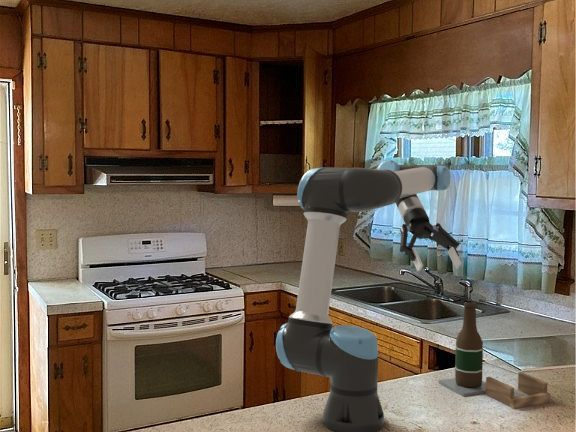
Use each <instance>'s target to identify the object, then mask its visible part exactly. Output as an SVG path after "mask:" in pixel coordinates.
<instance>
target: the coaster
mask: <svg viewBox="0 0 576 432" xmlns="http://www.w3.org/2000/svg"><path fill="white" fill-rule="evenodd" d="M438 384H440V385H442V386H444V387H445V388H447V389H449V390H451V391H453V392H454V393H456V394H458V395H460V396H462V397H468V396H475V395H482V394H486V381H485V380H482V385H481V386H480V387H477V388H465V387H461V386H458V385H457V383H456V381H455V377H452V378H446V379H439V380H438Z"/></svg>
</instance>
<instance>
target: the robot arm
mask: <svg viewBox="0 0 576 432" xmlns="http://www.w3.org/2000/svg"><path fill="white" fill-rule="evenodd" d="M450 184H451V172H450V169H449V168H448V166H446V165H399V164H398V162H396V161H395V160H392V159H388V160H384V161H381V163H380V164H378V166H377V168H376V169H375V168H374V169H373V168H366V167H329V166H328V167H325V166H324V167H318V168H317V167H315V168H312V169H311V168H310V169H309V170H308V171H307V172H305V173H304V174H303V176H301V179H300V180H299V184H298V187H297V193H296V194H297V195H296V196H297V199H298V201H297V202H298V205H299V207H300V208H301V209H302V210H303V215H304V218H305V219H306V220H307V227H306V235H305V242H304V249H303V256H302V261H301V262H302V263H301V269H300V278H299V283H298V284H299V285H298V292H297V298H296V306H295V310H294V312H293V313H291V314H290V315H289V316H288V322H286V323H284V324H282V325H281V326H280V328H279V330H278V332H277V335H276V339H275V348H276V349H275V350H276V355H277V357H278V360H279V361H280V364H281V365H283V366H284V367H285V368H288V369H290V370H294V371H296V372H300V373H302V372H303V373H307V374H312V375H318V376H321V377H327V378H329V380H330V381H329V383H330V385H329V386H330V390H329V394H328V397H327V399H326V404H325V406H324V410H323V412H322V413H323V414H322V422H323V425H324V426H325V427H326V428H328V429H329V430H331V431H333V432H378V431H380V430H382V429H383V428H384V426H385V413H384V411H383V406H382V404H381V400H380V396H379V394H378V381H379V380H378V373H379V372H378V371H379V367H378V366H379V353H380V352H379V345H378V338H377V337H376V335H375V334H374V333H373V332H372V330H371V331H370V330H369V329H366V328H364V327H361V326H356V325H347V324H339V325H335V326H333V325H334V324H333V321H332V319H331V318H330V316H329V313H330V311H329V310H330V304H331V296H332V288H333V281H334V274H335V265H336V258H337V252H338V251H337V250H338V244H339V243H338V242H339V237H340V236H339V235H340V228H341V225H342V224H344V223H345V222H346V221H347V218H348V217H347V216H348V213H363V212H368V211H373V210H377V209H380V208H384V207H388V206H391V205H393V204H395V205H396V207H397V209H398V211H399V214H400V215H401V217H402V220H403V222H404V223H403V224H402V225H401V227H400V228H399V232H400V244H399V245H400V246H399V252H401V253H404V255H405V256H408V258H409V260H410V261H411V262H412V263H413V265H414V267H415V269H416V271H417V272H420V271H421V270H422V269H423V267H424V264H423V262H422V260H421V258H420V255H419V253H418V252H417V249H416V248H414V246H415V243H416V241H417V239H419V240H422V239H425V240H427V239H428V240H430V241H434V242H435V243H437V244H438V245H440V246H441V247H442V248H444V249H446V250H447V254H448V256H449V258H450V260H451V262H452V264H453V267H455V270H457V269H459V268H460V266H461V265H462V264H463V263H462V261H461V259H460V257H459V256H460V254H459V252H458V251H457V248H458V247H459V245H460V242H459V241H458V240H456V239H455V238H454V237H453V236H452V235H451V234H449V232H447V231H446V230H445V228H443V226H442V225H441V223H439V222H437V223H436V224H434V225H433V224H431V222H430V217H429V215H428V214H427V211H426V210H425V207H424V205H423V203H422V202H421V200H420V198H419V196H418V194H422V193H425V192H430V191H438V192H439V191H445V190H448V189H449V187H450ZM408 232H409V233H410V234H412V236H411V239H410V241H409V243H408V234H409V233H408ZM407 243H408V245H407Z"/></svg>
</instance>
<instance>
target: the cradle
mask: <svg viewBox="0 0 576 432" xmlns="http://www.w3.org/2000/svg"><path fill="white" fill-rule="evenodd" d="M517 375H518V377H517V379H518V380H517V382H518V383H517V390H518V391H519V392H522V393H524V394H526V395H523V396H516V397H515V388H514V387H513V386H511V385H509V384H506V383H504V382H502V381H500V380H498V379H496V378H493V377H491V376H486V377H485V382H486V393H485V395H486V396H488V397H489V398H492V399H494V400H495V401H498V402H499V403H501V404H504V405H506V406H508V407H509V408H512V409H519V408H523V407H524V408H525V407H526V408H527V407H532V406H536V405H545V404H549V403H551V393H550V392H548V382H546V381H544V380H542V379H539V378H536V377H534V376H531V375H529V374H528V373H525V372H522V371H521V372H518V373H517Z"/></svg>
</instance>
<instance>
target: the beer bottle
mask: <svg viewBox="0 0 576 432" xmlns="http://www.w3.org/2000/svg"><path fill="white" fill-rule="evenodd" d="M463 307H464V308H463V319H462V320H463V321H462V322H463V323H462V327H461V330H460V331H459V332H458V334H457V337H456V340H455V361H454V362H455V364H454V367H455V369H454V370H455V372H454V374H455V375H454V378H455V381H456V383H457V385H458V386H461V387H465V388H477V387H480V386H481V385H482V381H483V364H484V363H483V361H484V360H483V359H484V357H483V356H484V354H483V353H484V351H483V350H484V345H483V340H482V337H481V334H479V331H478V328H477V312H476V310H477V309H476V308H477V307H478V306H477V303H476V302H475V301H474V302H473V301H465V302H463Z"/></svg>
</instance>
